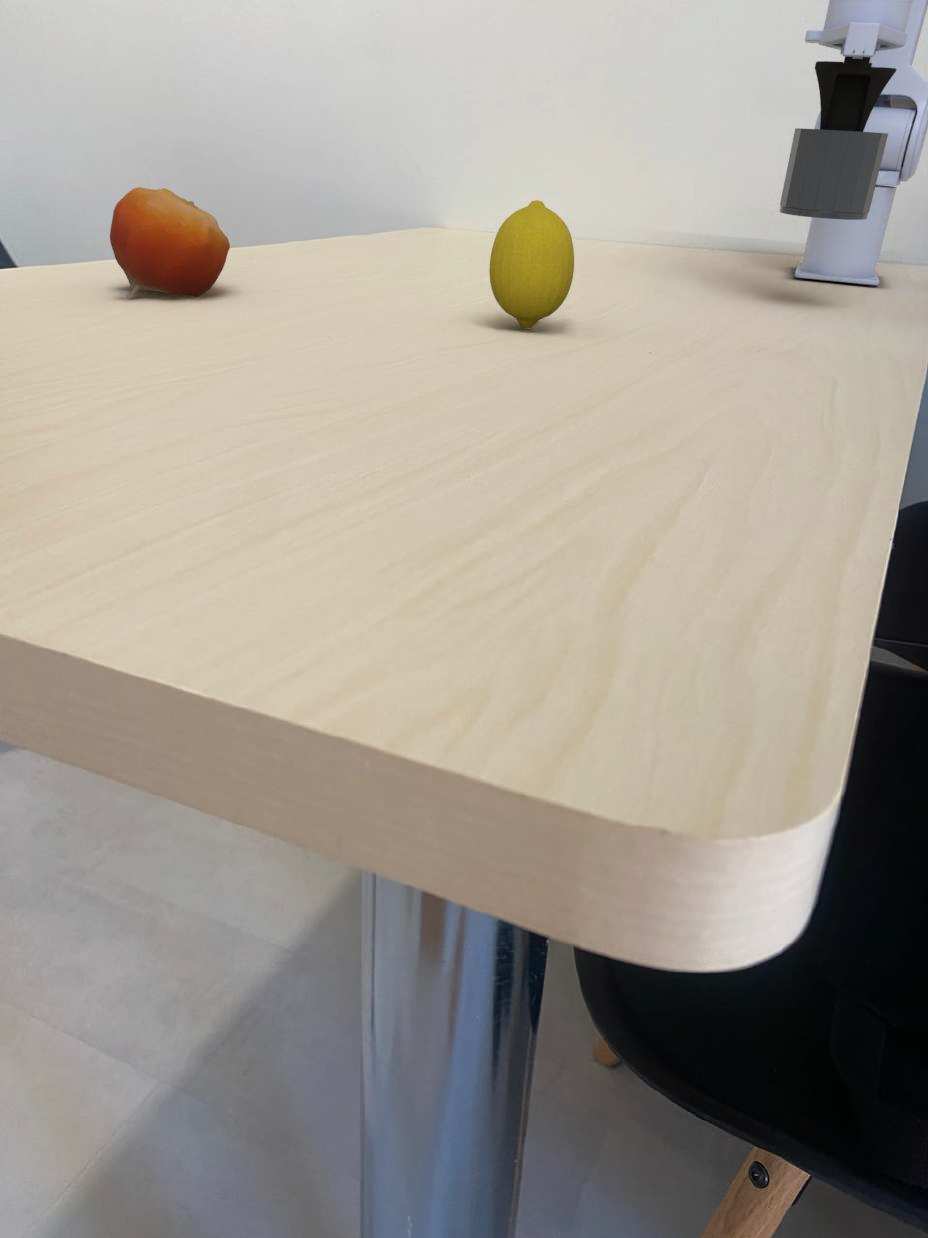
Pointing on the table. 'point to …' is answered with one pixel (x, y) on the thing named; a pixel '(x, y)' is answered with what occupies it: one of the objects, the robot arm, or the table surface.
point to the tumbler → (832, 173)
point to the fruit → (167, 243)
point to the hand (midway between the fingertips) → (832, 170)
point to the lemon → (532, 264)
